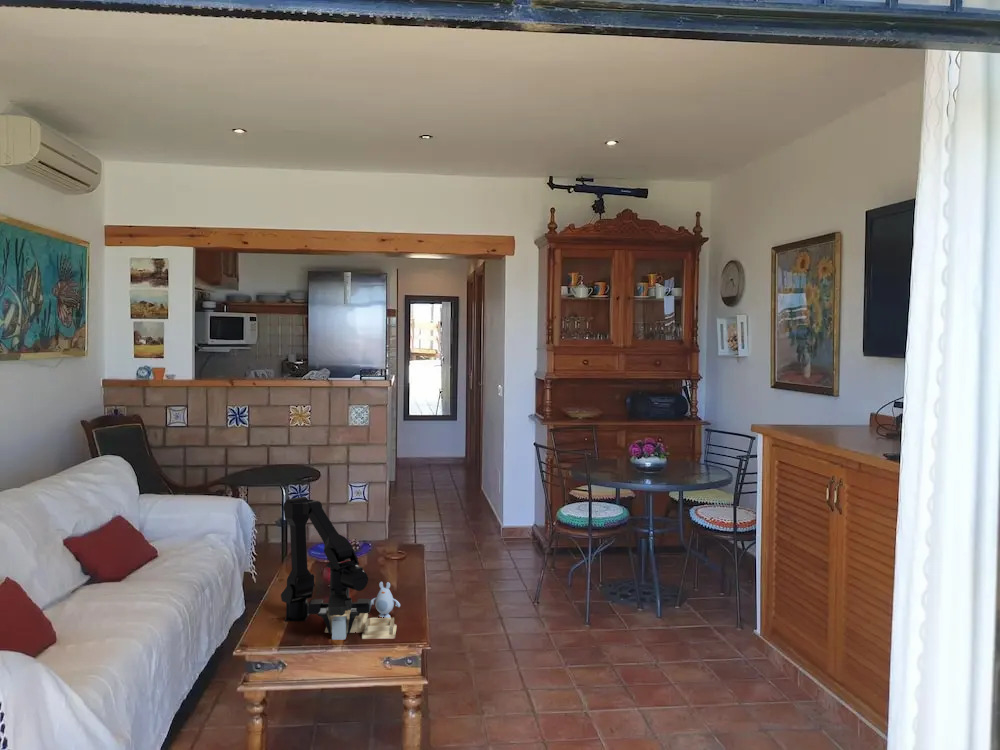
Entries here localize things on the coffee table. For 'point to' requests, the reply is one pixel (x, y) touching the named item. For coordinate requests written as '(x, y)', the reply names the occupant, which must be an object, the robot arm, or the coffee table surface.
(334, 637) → the block
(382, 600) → the toy figure
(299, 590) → the robot arm
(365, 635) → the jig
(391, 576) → the coffee table surface
